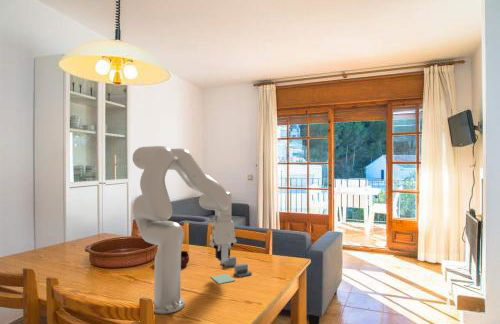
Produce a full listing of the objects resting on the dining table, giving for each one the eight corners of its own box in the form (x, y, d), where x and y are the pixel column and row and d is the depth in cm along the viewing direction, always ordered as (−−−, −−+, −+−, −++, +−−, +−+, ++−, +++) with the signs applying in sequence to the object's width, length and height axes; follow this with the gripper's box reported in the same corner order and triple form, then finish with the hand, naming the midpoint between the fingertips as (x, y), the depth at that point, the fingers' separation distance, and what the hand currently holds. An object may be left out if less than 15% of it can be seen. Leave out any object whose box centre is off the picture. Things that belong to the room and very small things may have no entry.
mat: (234, 280, 138) (234, 280, 138) (218, 284, 134) (218, 283, 134) (226, 274, 146) (226, 273, 146) (211, 277, 142) (211, 276, 142)
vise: (251, 274, 146) (251, 266, 146) (238, 277, 142) (238, 268, 142) (232, 262, 164) (232, 254, 164) (220, 264, 161) (220, 256, 161)
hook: (228, 260, 139) (228, 243, 139) (221, 262, 138) (221, 244, 138) (221, 256, 146) (221, 239, 146) (214, 257, 144) (214, 240, 144)
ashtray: (199, 262, 164) (199, 253, 164) (177, 271, 150) (177, 261, 150) (174, 257, 173) (174, 248, 173) (152, 265, 159) (152, 255, 159)
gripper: (209, 221, 133) (209, 263, 133) (242, 218, 141) (242, 257, 141) (203, 218, 139) (203, 258, 139) (235, 215, 147) (235, 253, 147)
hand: (223, 257), depth 140 cm, fingers closed on hook, 3 cm apart
